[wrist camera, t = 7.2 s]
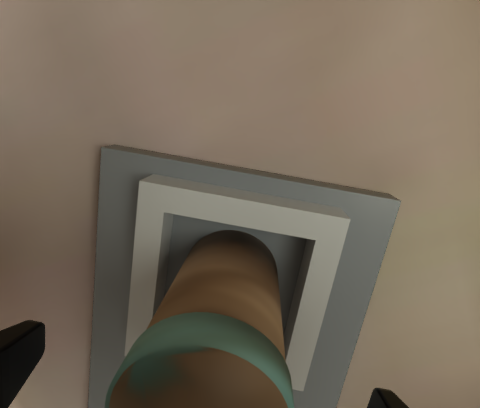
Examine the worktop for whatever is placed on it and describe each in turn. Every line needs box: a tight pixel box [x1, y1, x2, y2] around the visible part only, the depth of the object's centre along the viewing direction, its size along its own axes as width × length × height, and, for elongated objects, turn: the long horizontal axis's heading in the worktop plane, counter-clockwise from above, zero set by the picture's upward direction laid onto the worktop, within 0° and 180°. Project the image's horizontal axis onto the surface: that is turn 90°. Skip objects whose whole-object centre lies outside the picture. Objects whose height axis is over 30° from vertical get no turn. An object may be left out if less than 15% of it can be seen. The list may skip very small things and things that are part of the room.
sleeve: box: [105, 230, 294, 408], centre depth 10 cm, size 4×4×7 cm
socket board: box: [88, 145, 401, 408], centre depth 15 cm, size 12×20×3 cm, turn 170°
